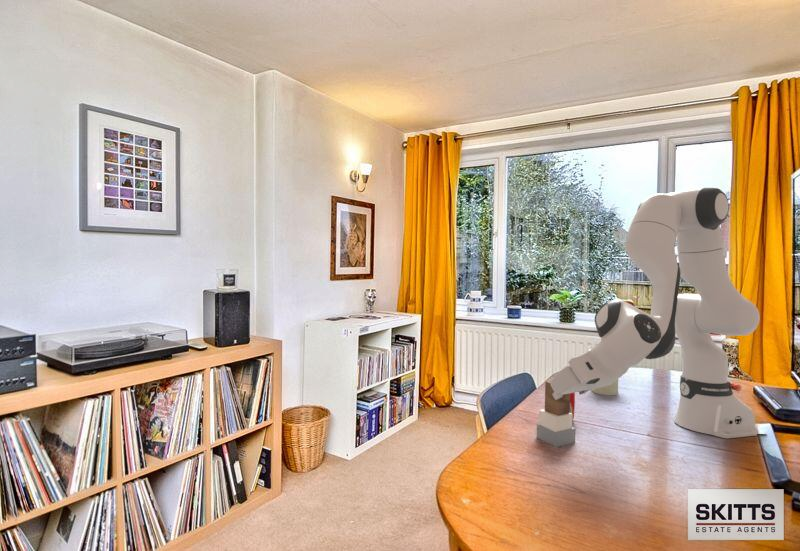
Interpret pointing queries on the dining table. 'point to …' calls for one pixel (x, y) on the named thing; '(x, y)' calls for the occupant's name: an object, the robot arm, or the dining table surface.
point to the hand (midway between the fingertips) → (568, 394)
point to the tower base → (556, 436)
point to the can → (608, 389)
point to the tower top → (555, 421)
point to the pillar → (556, 401)
